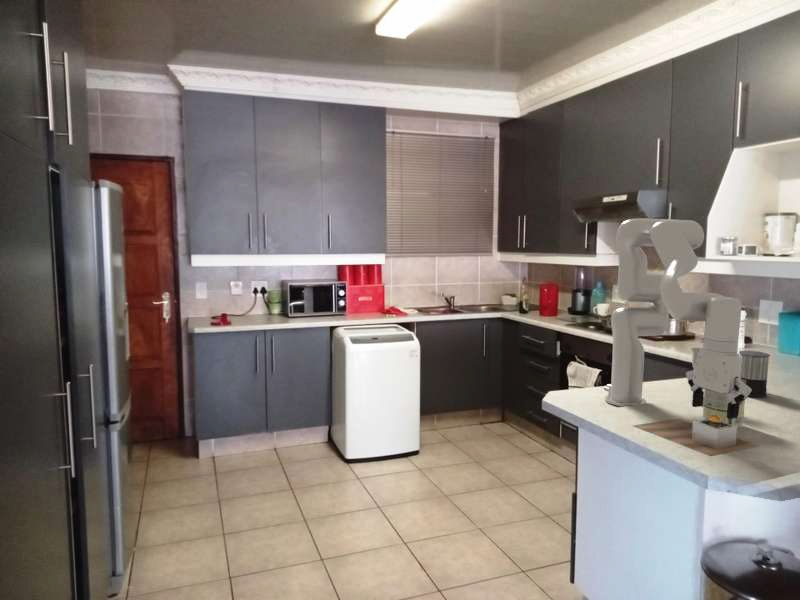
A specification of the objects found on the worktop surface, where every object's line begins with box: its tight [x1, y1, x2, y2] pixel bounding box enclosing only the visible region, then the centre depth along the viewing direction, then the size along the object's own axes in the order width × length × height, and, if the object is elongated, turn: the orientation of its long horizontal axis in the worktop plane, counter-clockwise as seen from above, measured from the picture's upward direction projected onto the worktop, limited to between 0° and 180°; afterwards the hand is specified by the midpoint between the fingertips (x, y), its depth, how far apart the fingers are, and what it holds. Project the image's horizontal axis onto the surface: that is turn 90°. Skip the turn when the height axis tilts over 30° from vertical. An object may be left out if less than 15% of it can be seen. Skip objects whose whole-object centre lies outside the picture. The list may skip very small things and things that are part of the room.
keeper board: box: [633, 418, 760, 457], centre depth 148 cm, size 24×18×2 cm
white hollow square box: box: [692, 418, 738, 449], centre depth 143 cm, size 7×7×5 cm
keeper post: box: [709, 414, 722, 428], centre depth 142 cm, size 3×3×7 cm
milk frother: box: [738, 350, 771, 399], centre depth 198 cm, size 14×16×15 cm
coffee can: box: [702, 379, 747, 429], centre depth 159 cm, size 10×10×14 cm
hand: (714, 412), depth 143 cm, fingers open, 9 cm apart
